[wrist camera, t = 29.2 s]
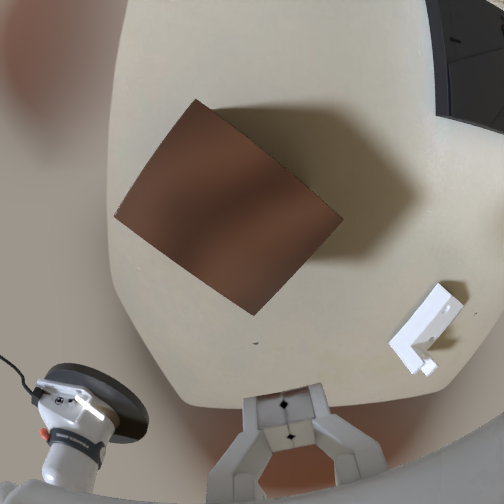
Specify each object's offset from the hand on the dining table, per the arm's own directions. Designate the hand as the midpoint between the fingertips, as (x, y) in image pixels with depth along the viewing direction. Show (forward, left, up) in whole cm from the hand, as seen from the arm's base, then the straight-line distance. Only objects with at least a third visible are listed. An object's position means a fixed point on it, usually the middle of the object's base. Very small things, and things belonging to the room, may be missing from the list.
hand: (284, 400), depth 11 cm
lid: (-3, +2, -18) cm, 19 cm away
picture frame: (+35, +32, -29) cm, 56 cm away
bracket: (+33, -14, -29) cm, 46 cm away
